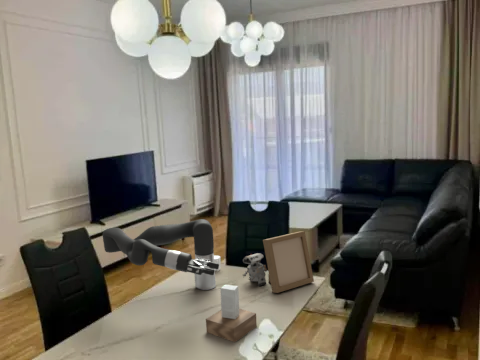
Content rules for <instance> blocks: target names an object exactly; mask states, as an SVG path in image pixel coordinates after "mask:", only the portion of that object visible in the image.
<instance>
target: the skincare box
mask: <svg viewBox="0 0 480 360" xmlns="http://www.w3.org/2000/svg"><path fill="white" fill-rule="evenodd" d="M220 305H221V306H220V307H221V308H220V310H221V314H222V317H224V318H230V319H236V318H237V317H238V316H239V309H240V296H239V285H232V284H224V285H223V286H222V287H221V286H220Z"/></svg>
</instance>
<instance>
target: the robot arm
mask: <svg viewBox="0 0 480 360" xmlns="http://www.w3.org/2000/svg"><path fill="white" fill-rule="evenodd" d="M185 238H193V246H194V258H193V256H192V254H191V253H188V252H184V251H179V250H173V249H167V248H163V247H159V246H163V245H167V244H168V245H169V244H172V243H174V242H176V241H178V240H179V241H180V240H182V239H185ZM102 242H103V248H104V252H106V253H109V254H110V253H118V252H122V253H123V254H124V255H126V257H127V258H128V260H129V262H130V263H132V264H133V265H136V266H144V265H145V264H147V262H148V259H149V256H150V253H151V261H152V263H153V264H154V265H156V266H160V267H164V268H168V269H170V270H173V271H178V272H184V273H191V274H194V283H195V284H194V285H195V286H194V287H195V288H197V289H198V290H202V291H208V290H212V289H214V288H216V287H217V284H216V282H217V281H216V271H215V269H218V268H219V264H217V263H214V255H215V254H214V253H215V252H214V251H215V250H214V247H215V245H214V243H215V242H214V229H213V227H212V224H211V222H210V221H208V220H207V219H204V218H203V219H195V220H192V221H187V222H182V223H172V224H162V225H154V226H150V227H148V228H146V229H144V231H143V232H142V233H140V234H139V235H138V236H136V237H135V238H131V237H130V236H128V235H127V234H126V232H124V230H122V229H121V228H119V227H110V228H106V229H105V230H103V232H102Z"/></svg>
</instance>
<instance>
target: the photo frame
mask: <svg viewBox="0 0 480 360" xmlns="http://www.w3.org/2000/svg"><path fill="white" fill-rule="evenodd" d="M262 243H263V248H264V255H265V259H266V267H267V271H268V276H267V277H268V283H269V284H270V288H271V292H272V293H276V294H280V293H282V292H284V291H285V292H286V291H288V290H291V289H294V288H297V287H301V286H304V285H305V286H306V285H307V284H311V283H313V282H315V280H314V274H313V269H312V268H313V267H312V264H311V258H310V253H309V248H308V247H309V246H308V242H307V237H306V231H305V230H303V231H295V232H292V233H287V234H283V235H279V236H274V237H270V238H266V239H262Z"/></svg>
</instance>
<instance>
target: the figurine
mask: <svg viewBox="0 0 480 360" xmlns="http://www.w3.org/2000/svg"><path fill="white" fill-rule="evenodd" d="M249 254H250V255H246V256H244V257H243V259H242V262H243V264H248V266H247V267H246V269H247V270H246V271H244V273H243V274H242V276H243V277H246V276H247V275H248V276H249V278H248V280H249V281H250V282H257V286H258V287H263V286H266V285H267V279H266V272H267V271H268V269H267V264H264V263H261V261H262V259H264V254H262V253H258V252H257V253H254V254H252V253H249Z"/></svg>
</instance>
